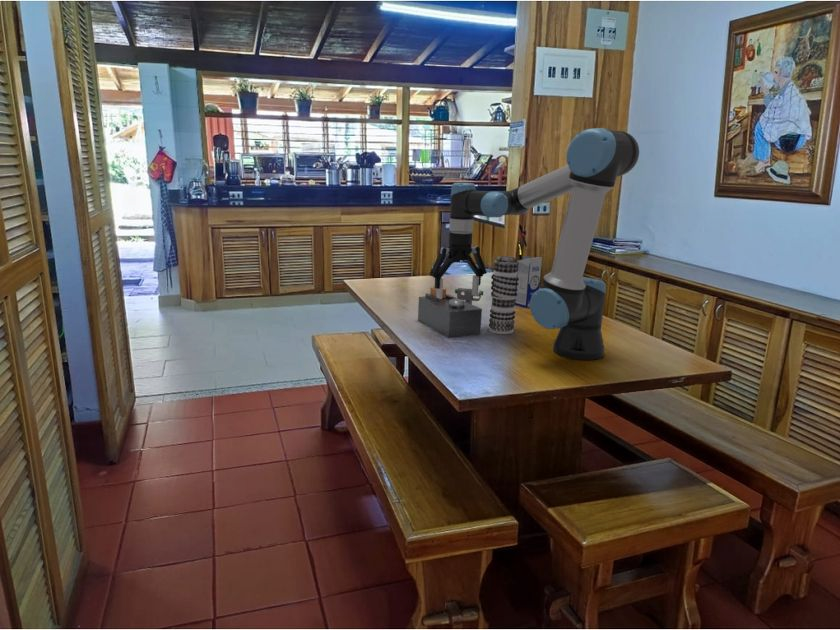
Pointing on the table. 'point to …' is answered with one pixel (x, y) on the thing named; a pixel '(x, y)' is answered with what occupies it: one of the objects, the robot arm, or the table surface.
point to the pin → (456, 303)
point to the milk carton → (527, 280)
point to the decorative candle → (503, 295)
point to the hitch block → (449, 316)
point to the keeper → (433, 290)
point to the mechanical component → (467, 295)
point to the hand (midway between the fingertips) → (457, 296)
